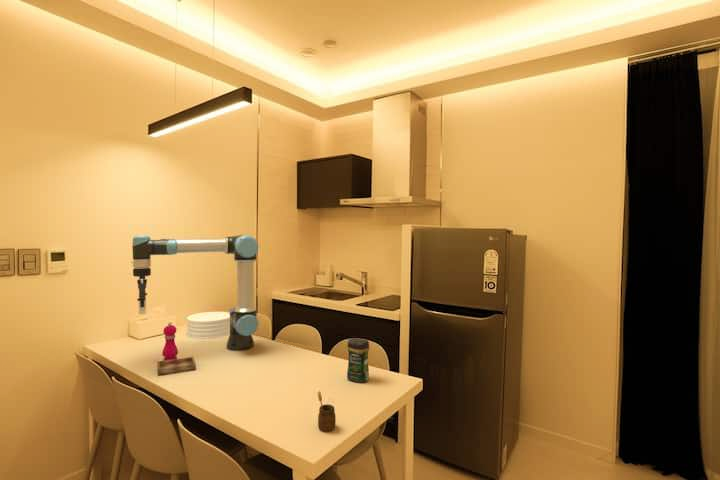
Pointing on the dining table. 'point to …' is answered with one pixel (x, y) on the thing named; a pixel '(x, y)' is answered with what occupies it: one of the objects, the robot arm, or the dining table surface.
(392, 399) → the dining table surface
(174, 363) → the tray
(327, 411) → the utensil holder
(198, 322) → the plate stack
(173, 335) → the pepper mill
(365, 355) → the coffee jar
